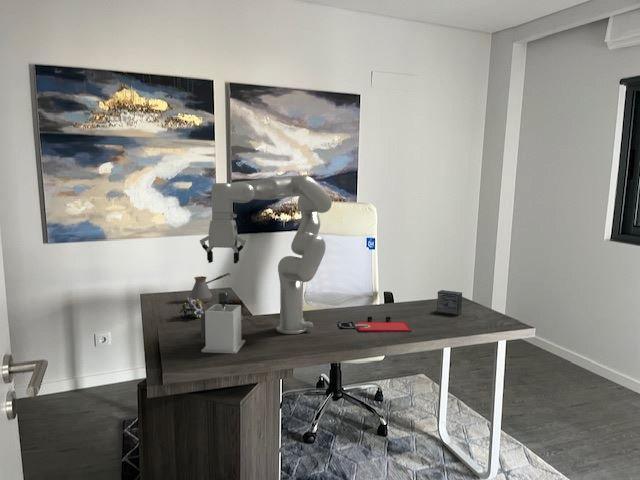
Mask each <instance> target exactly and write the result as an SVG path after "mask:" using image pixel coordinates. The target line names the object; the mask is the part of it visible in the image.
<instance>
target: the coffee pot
mask: <svg viewBox="0 0 640 480" xmlns="http://www.w3.org/2000/svg"><path fill="white" fill-rule="evenodd" d="M227 276H229V277H231V274H230V272H228V273H225V274H222V275H219V276H217V277H216V278H213V279H211V280H209V281H206V279H207V278H208V277H207V276H201V275H200V276H195V277H193V278H194V280H195V282H194V284H193V287H192V289H191V292H190V295H189V299H190V298H192V299H195V301H196V300H197V299H198V300H199V299H200V300H201V302H202V303H203V304H205V302H206V303H209V301H210V300H211V299H212V297H213V295H212V292H211V290H210V288H209V285H208V284H210V283H212V282H214V281H217V280H220V279H223V278H224V277H227Z"/></svg>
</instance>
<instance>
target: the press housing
mask: <svg viewBox="0 0 640 480" xmlns="http://www.w3.org/2000/svg"><path fill="white" fill-rule="evenodd" d="M241 330H242V323H241V305H225V312H223V311H222V305H221V304H219V303H218V304H213V305H211V306H210V307H209V308H208V309H206V310H204V312H203V313H201V318H200V335H201V336H200V337H201V339H205V346H204V347H203V348H202V349H201V353H210V354H211V353H213V354H234V355H235V354H237V353H238V352H239V351H240V349H241V348H242V347H243V346H244V344H245V343H246V339H242V331H241Z"/></svg>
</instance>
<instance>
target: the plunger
mask: <svg viewBox="0 0 640 480" xmlns="http://www.w3.org/2000/svg"><path fill="white" fill-rule="evenodd" d="M217 294H218V295H217V297H218V300H217V301H218V304H220V305H222V311H223V312H225V304H228V300H229V292H228V291H220V292H219V291H218V293H217Z"/></svg>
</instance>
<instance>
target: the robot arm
mask: <svg viewBox="0 0 640 480" xmlns="http://www.w3.org/2000/svg"><path fill="white" fill-rule="evenodd" d="M292 197H298V199H297V206H298V209H299V211H300V214H301V215H300V217H301V219H300V224H299V227H298V229H297V231H296V233H295V235H294V237H293V239H292V241H291V246H290V250H291V251H292V253H293V254H295V255H298V256H293V255H286V256H283V257H282V258H281V259H280V261H279V262H278V264H277V273H278V277H279V278H278V279H279V291H280V292H279V293H280V294H279V295H280V296H279V297H280V298H279V299H280V300H279V307H280V308H279V309H280V311H279V314H280V315H279V317H280V319H279V321H280V323H279V325H278V326H276V332H278V333H281V334H283V335H297V334H298V335H299V334H301V333H304V332H306V331H307V328H313V327H314V322H311V321H305V318H304V317H303V315H304V311H303V309H304V302H303V301H304V299H303V298H304V296H303V295H304V290H303V289H304V288H303V287H304V286H303V283H308V282H310V281H312V279H314V277H315V275H316V273H317V271H318V268H319V267H320V264H321V263H322V259H323V258H324V256H325V254H326V253H325V252H326V241H325V240H324V238H323V237H321V236H320V235H318V234H319V231H320V229H321V219H320V215H319V214H325V213H327V212H329V211H330V209H331V208H332V205H333V201H332V198H331V196H330V194H329V193H328V192H327V191H326V190H325V189H324V188H323V187H322V186H321V185H320V184H319V183H318V182H317V181H316V180H315V179H313V178H312V177H310V176H309V175H288V176H287V175H286V176H277V177H266V178H259V179H254V180H253V179H252V180H246V181H244V180H243V181H235V182H234V181H233V182H228V183H227V182H215V183H213V184H212V185H211V220H210V222H209V226H208V235H207V236H206V237H203V238H202V239H200V240H199V243H200V245H201V247H202V249H203V250H204V251H205V253H206V260H207V261H208V263H207V264H212V263H213V262H214V255H213V253H214V252H213V249H214V248H219V249H221V248H223V249H224V248H226V249H227V248H228V249H229V248H231V249H232V250H233V251H234V253H233V264H235V265H236V264H238V263H239V262H240V252H241V251H242V250H243V249H244V248H245V245H246V243H247V240H245V239H244V238H242V237H240V236H238V227H237V222H236V220H235V218H237V215H238V214H237V213H234V211H233V210H234V209H233V203H238V204H244V203H245V204H246V203H249V202H251V201H252V200H261V201H262V200H263V201H266V200H267V201H269V200H270V201H271V200H277V199H285V198H292ZM207 241H208V245H207V244H206V242H207ZM238 242H240V245H239V246H238ZM299 256H301V257H299Z"/></svg>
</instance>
